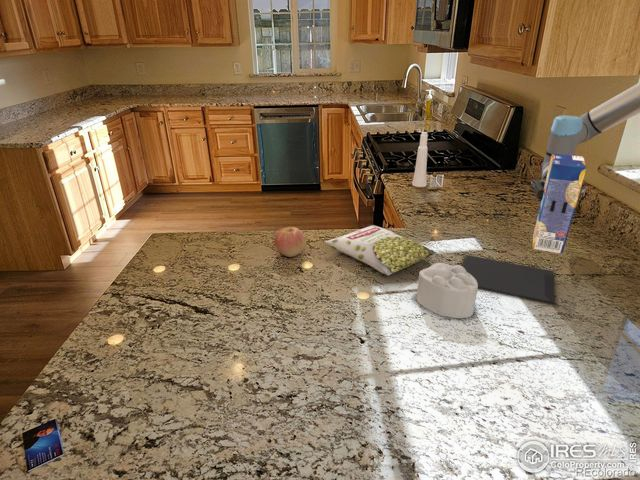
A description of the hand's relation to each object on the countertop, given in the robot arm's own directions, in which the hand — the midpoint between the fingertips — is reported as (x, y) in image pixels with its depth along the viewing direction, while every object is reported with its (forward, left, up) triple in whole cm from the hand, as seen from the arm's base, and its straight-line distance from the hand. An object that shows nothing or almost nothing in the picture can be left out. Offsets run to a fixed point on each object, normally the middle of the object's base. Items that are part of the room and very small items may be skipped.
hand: (558, 206), depth 101 cm
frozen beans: (+42, +5, -20) cm, 47 cm away
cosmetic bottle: (+46, -63, -20) cm, 81 cm away
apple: (+66, +14, -20) cm, 71 cm away
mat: (+8, +3, -20) cm, 22 cm away
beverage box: (0, -6, -12) cm, 13 cm away
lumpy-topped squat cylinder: (+20, +21, -20) cm, 36 cm away
